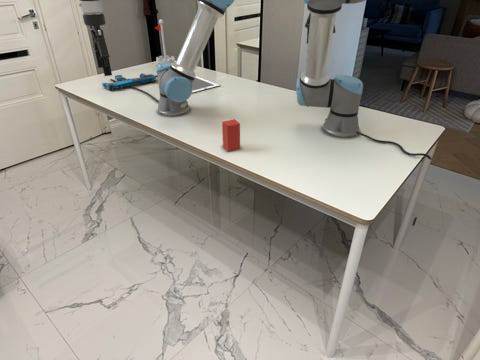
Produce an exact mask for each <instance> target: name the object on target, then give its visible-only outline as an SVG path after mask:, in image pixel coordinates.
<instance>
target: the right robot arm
mask: <svg viewBox="0 0 480 360" xmlns="http://www.w3.org/2000/svg"><path fill="white" fill-rule="evenodd" d="M365 1H366V0H303V1H302V2H303V3H304V4H306V9H307V11H308V12H309V14H308V16H307V18H306V22H305V24H304V27H305V28H306V29H307V30H306V44H307V47H306V57H305V58H306V59H305V66H304V71H303V72H301V74H300V77H299V76H298V77H297V79H296V102H297V104H298V105H299V106H301V107H307V108H310V107H311V108H313V107H314V108H328V109H329V112H328V115H327V117H326V118H325V119H324V123H323V126H322V130H323V132H324V133H325V134H326V135H329V136H332V137H335V138H339V139H341V138H342V139H349V138H354V137H356V136H357V135H360V136H362V137H364V138H367V139H369V140H371V141H373V142H377V143H381V144H382V143H383V144H391V145H395V146H396V147H398V148H399V149H400V151H402V153H404V154H405V155H408V156H411V157H412V156H414V157H416V156H417V157H418V156H421V157H426V158H427V159H428V160H432V157H431V156H430V155H429V154H428V153H422V152H419V153H418V152H417V153H412V152H409V151H406V150H405V149H404V148H403V146H402V145H400V143H397V142H395V141H391V140H380V139H377V138H373V137H372V136H370V135H367V134H365V133H362V132H361V131H360V125H359V118H358V117H359V116H358V114H359V111H360V110H359V109H360V105H361V99H362V95H363V89H364V83H363V82H362V80H361V79H359V78H358V77H355V76H351V75H348V74H337V75H334V79H333V78H331V76H330V74H329V73H328V68H329V67H328V66H329V61H330V53H331V48H332V41H333V35H334V34H336V25H335V21H336V16H337V14H338V13H339V12H340V11H342V7H343V5H351V4H352V5H353V4H359V3H364V2H365ZM417 219H418V216H416V217H414V218H413V222H412V224H411V225H412V227H415V225H416V222H417Z"/></svg>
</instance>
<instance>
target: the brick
mask: <svg viewBox="0 0 480 360" xmlns="http://www.w3.org/2000/svg"><path fill="white" fill-rule="evenodd" d="M221 122H222V125H221V127H222V128H221V129H222V147H223V148H224V149H225V150H226V151H227V152H232V151H235V150H240V149H241V123H240V122H239V121H238V120H236V119H235V118H233V119H228V120H224V121H221Z"/></svg>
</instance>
